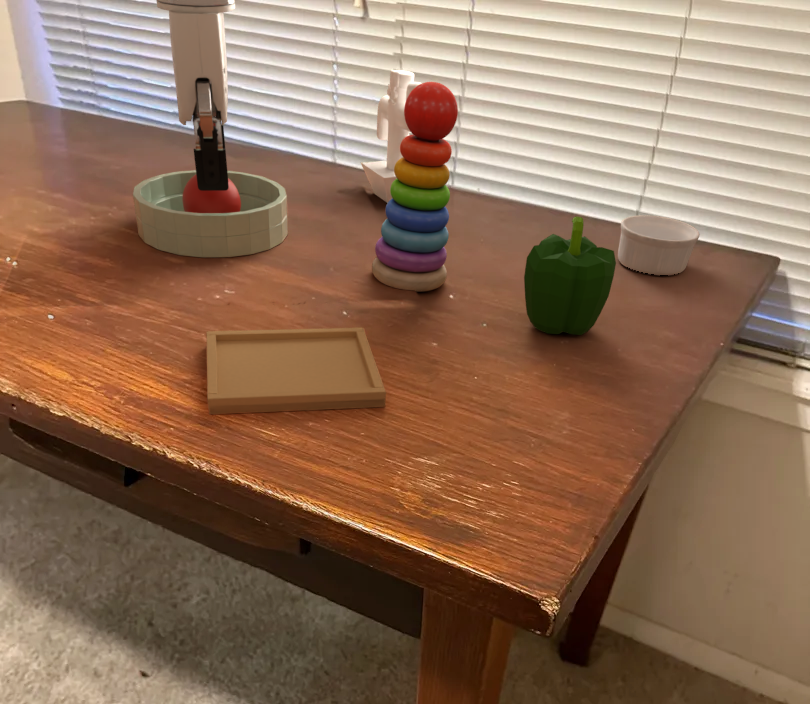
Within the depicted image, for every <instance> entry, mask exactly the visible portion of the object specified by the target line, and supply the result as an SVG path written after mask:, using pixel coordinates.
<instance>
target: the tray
mask: <svg viewBox="0 0 810 704" xmlns="http://www.w3.org/2000/svg"><path fill="white" fill-rule="evenodd" d="M205 334H206V391H207V393H206V397H207V398H206V399H207V409H208V415H225V414H226V415H228V414H251V413H252V414H253V413H269V412H270V413H273V412H295V411H296V412H297V411H316V410H317V411H319V410H321V411H323V410H340V409H341V410H342V409H343V410H344V409H363V408H364V409H367V408H385V407H386V403H387V402H386V401H387V399H386V398H387V391H386V387H385V385H384V383H383V380H382V376H381V374H380V371H379V368H378V365H377V362H376V360H375V357H374V354H373V351H372V348H371V345H370V343H369V340H368V337H367V334H366V331H365V328H364V327H328V328H327V327H326V328H325V327H324V328H323V327H322V328H293V329H292V328H286V329H285V328H282V329H280V328H279V329H243V330H207V331H206V333H205Z"/></svg>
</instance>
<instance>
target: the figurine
mask: <svg viewBox="0 0 810 704" xmlns="http://www.w3.org/2000/svg"><path fill="white" fill-rule="evenodd" d="M422 83H423V82H420V81H415V73H414V72H411V71H409V70H403V69H393V68H392V69H390V73H389V83H388V84H387V90H386V93H387V94H385V95H383V96H381V97H380V99H379V101H378V103H377V104H378V105H377V113H376V114H377V115H376V116H377V117H376V137H377V139H378V140H380V141H387V146H386V147H387V148H386V160H376V161H375V160H374V161H363V162H362V161H361V162H360V165H361V167H362V170H363V171H364V174H365V176H366V179H367V181H368V183H369V185H370V188H371V190H372V192H373V194H374V195H375V196H377V197H378V198H379V199H381V200H382V201H384V202H385V203H388V202H389V201H390V200H391V199H392V196H391V192H390V189H391V185H392V183H393V181H394V180H395V179H397V177H396V176H395V173H394V167H395V164H396V162H397V161H398V160H399V159H401V158H403V156H402V155H401V152H400V144H401V142H402V140H403V139H404V138H405V137H407V136H409V135H410V133H411V131H410V130H409V128H408V126H407V124H406V121H405V116H404V108H405V103H406V100H407V98H408V95H409V94H410V92H411V91H412V90H413V89H414V88H415V87H417V86H418V85H420V84H422Z"/></svg>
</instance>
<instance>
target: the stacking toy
mask: <svg viewBox="0 0 810 704" xmlns="http://www.w3.org/2000/svg"><path fill="white" fill-rule="evenodd" d="M421 83H422V84H420V85H418V86H417V87H415V88H414V89H413V90H412V91H411V92H410V94H409V95H408V98H407V100H406V103H405V108H404V116H405V121H406V124H407V126H408V128H409V130H410V131H411V132H410V133H411V134H409V136H407V137H405V138H404V139H403V140H402V142H401V144H400V152H401V155H402V156H403V158H401V159H399V160H398V161H397V162H396V164H395V167H394V173H395V176H396V177H397V179H395V180H394V181H393V183H392V185H391V189H390V192H391V196H392V199H391V200H390V201H389V202H388V203H387V202H386V203H387V204H386V205H385V216H386V219H385V220H384V221H383V223H381V227H380V233H381V237H380V238H379V239H378V240H377V241H376V243H375V246H374V251H375V255H376V256H375V258H374V259H373V261H372V264H371V271H372V274H373V276H374V278H376V280H378V281H379V282H380V283H381V284H384V285H385V286H388V287H390V288H393V289H398V290H405V291H415V292H417V293H418V292H431V291H433V290H436V289H438V288H440V287H441V286H443V285H444V283H445V282H446V280H447V276H448V272H447V268H446V265H445V263H446V261H447V256H448V255H447V249H446V248H445V246H447V244H448V242H449V237H450V233H449V230H448V228H447V227H446V226H447V225H448V223H449V221H450V212H449V210H448V208H447V207H446V206H447V205H448V204H449V201H450V198H451V191H450V189H449V187H448V186H447V184H448V182H449V180H450V175H451V173H450V169H449V167H448V166H447V165H446V163H448V162H449V161H450V159H451V157H452V153H453V150H452V146H451V144H450V143H449V142H448V141H447V140H445V138H446V137H447V136H449V135H450V134H451V132H452V131H453V129H454V127H455V126H456V123H457V120H458V114H459V107H458V102H457V99H456V96H455V95H454V93H453V91H452V90H451V89H450V88H449V87H448V86H446V85H444V84H443V83H440V82H437V81H425V82H421Z"/></svg>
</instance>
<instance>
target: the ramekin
mask: <svg viewBox="0 0 810 704" xmlns="http://www.w3.org/2000/svg"><path fill="white" fill-rule="evenodd" d="M700 235H701V234H700V231H699V230H698V229H697V228H695V226H692V225H691V224H689V223H687V222H684V221H681V220H679V219H676V218H675V219H674V218H670V217H665V216H658V215H647V214H646V215H645V214H641V215H631V216H627V217H625V218H623V219H622V220H621V222H620V237H619V244H618V250H617V259H618V262H619V263H620V264H621V265H622V266H624V267H625V268H627V267H628V269H629V268H630V270H632V269H633V270H632V271H634V270H636V271H635V272H637V271H639V272H638V273H641V272H643V273H642V274H645V273H648V274H647V275H651V274H654V275H653V276H660V275H668V276H675V275H678V273H679V274H681V273H682V272H684V271H685V270H686V268H687V266H688V264H689V261H690V258H691V255H692V253H693V251H694V248H695V245H696V243H697V242H698V240H699V238H700ZM674 274H675V275H674Z"/></svg>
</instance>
